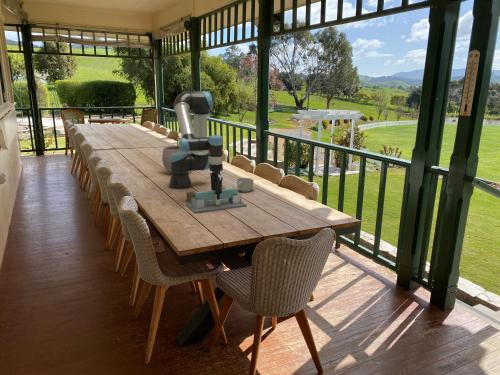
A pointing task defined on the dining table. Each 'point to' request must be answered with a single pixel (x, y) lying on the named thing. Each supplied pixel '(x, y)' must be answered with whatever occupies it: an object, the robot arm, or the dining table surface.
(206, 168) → the robot arm
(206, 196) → the slat
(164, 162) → the plant pot
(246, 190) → the teacup
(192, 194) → the block
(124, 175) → the dining table surface
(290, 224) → the dining table surface
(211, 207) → the cap board
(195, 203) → the end caps
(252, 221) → the dining table surface
